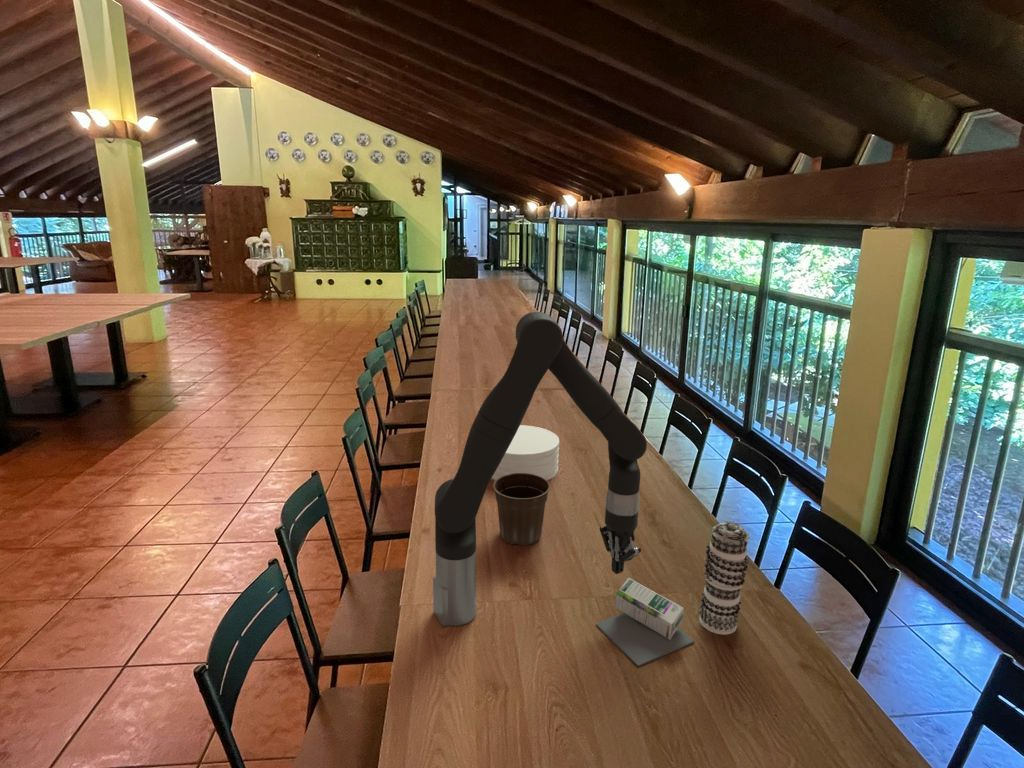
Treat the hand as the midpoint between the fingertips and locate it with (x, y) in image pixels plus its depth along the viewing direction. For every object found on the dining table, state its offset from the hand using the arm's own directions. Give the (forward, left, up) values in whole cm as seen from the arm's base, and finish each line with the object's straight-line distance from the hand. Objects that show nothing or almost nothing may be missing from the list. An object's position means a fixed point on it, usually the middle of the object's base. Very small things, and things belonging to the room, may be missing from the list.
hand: (617, 571), depth 146 cm
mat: (0, -11, -10) cm, 15 cm away
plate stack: (+19, +80, -10) cm, 83 cm away
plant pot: (-4, +39, -10) cm, 40 cm away
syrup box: (0, -2, -4) cm, 5 cm away
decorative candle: (+18, -16, -10) cm, 26 cm away
